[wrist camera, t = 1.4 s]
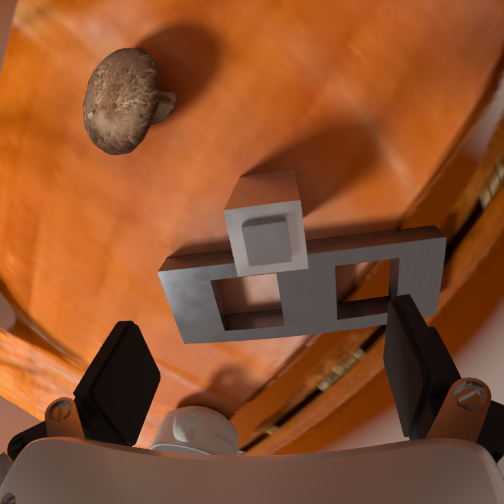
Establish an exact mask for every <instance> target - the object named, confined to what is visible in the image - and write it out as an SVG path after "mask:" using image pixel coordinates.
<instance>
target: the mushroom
mask: <svg viewBox="0 0 504 504" xmlns="http://www.w3.org/2000/svg"><path fill="white" fill-rule="evenodd" d="M160 83H161V81H160V77H159V73H158V69H157V64H156V63H155V62H154V60H153V59H152V58H151V57H150V56H149V54H148V53H147V52H146V51H145V50H143V49H141V48H123V49H120V50H117V51H115V52H113V53H111V54H110V55H109V56H107V57H106V58H105V59H104V60H103V61H102V62H101V63H100V64H99V65H98V66H97V67H96V69H95V70H94V72H93V74H92V76H91V78H90V80H89V82H88V86H87V91H86V96H85V100H84V104H83V113H84V123H85V129H86V131H87V133H88V134H89V136H90V138H91V140H92V142H93V143H94V144H95V145H96V146H97V147H98V148H100V149H101V150H103V151H104V152H106V153H108V154H111V155H120V154H126V153H130V152H132V151H133V150H134V149H135V148H136V147H137V146H138V145H139V144H140V143H141V142H142V141H143V139H144V138H145V136H146V134H147V132H148V129H149V127H150V126H151V124H157V123H159V122H161V121H163V120H164V119H165V118H166V117H167V116H168V115H169V114H170V113H171V112H172V110H173V109H174V108H175V104H176V101H177V96H176V95H175V93H174V92H163V91H160Z"/></svg>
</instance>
